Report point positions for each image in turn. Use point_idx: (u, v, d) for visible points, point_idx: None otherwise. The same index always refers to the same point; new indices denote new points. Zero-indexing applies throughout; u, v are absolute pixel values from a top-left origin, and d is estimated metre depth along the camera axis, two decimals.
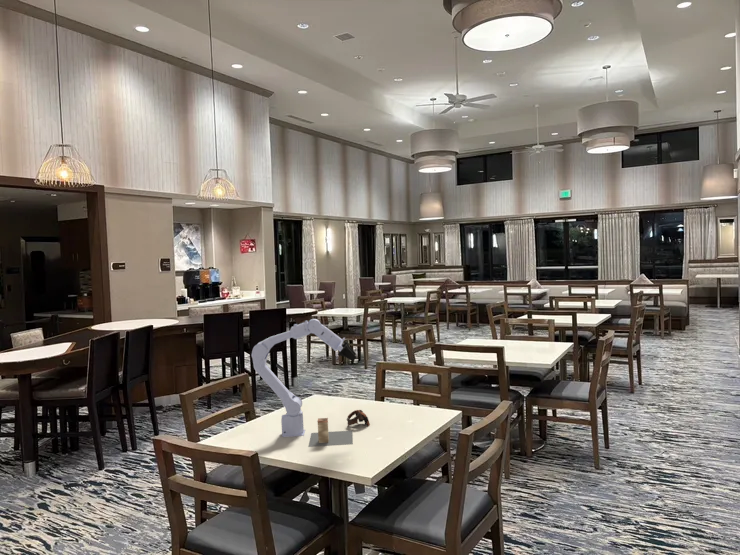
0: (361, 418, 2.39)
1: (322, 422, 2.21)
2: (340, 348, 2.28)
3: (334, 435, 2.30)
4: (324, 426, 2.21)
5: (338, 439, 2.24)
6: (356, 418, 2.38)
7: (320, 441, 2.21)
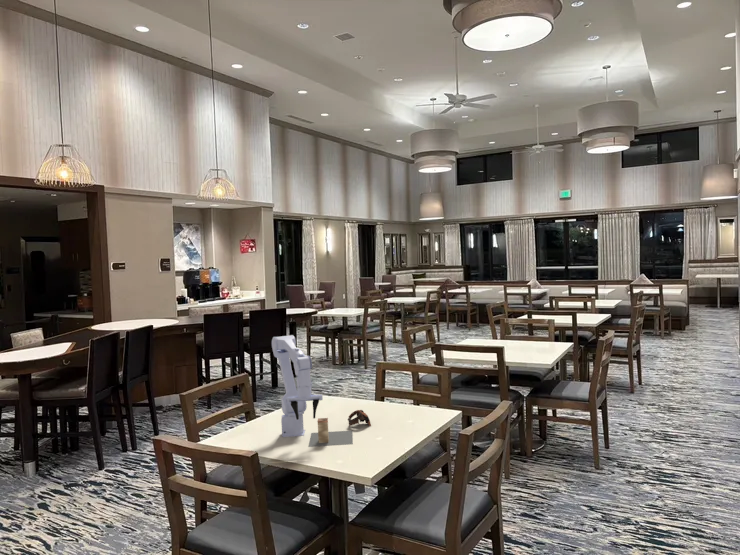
0: (362, 418, 2.38)
1: (322, 422, 2.21)
2: (287, 400, 2.21)
3: (334, 435, 2.30)
4: (324, 426, 2.21)
5: (338, 439, 2.24)
6: (357, 418, 2.38)
7: (320, 441, 2.21)
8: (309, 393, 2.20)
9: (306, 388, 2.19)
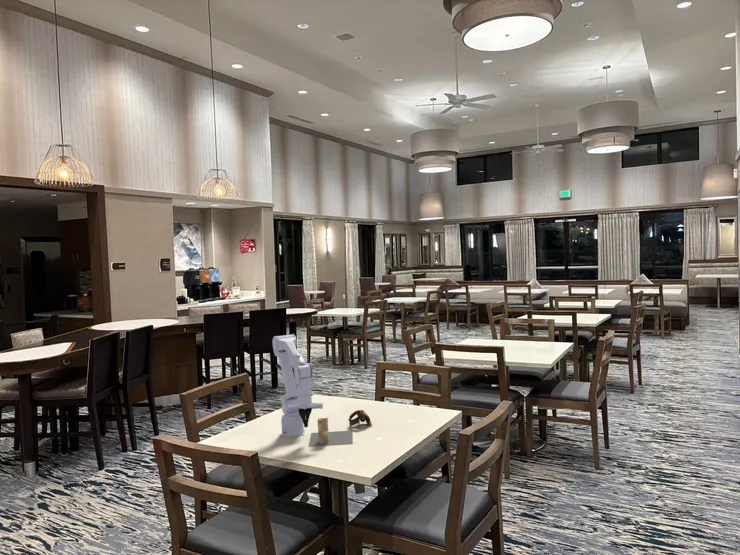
0: (363, 418, 2.38)
1: (322, 422, 2.21)
2: None
3: (334, 435, 2.30)
4: (324, 426, 2.21)
5: (338, 439, 2.24)
6: (358, 418, 2.38)
7: (320, 441, 2.21)
8: (309, 401, 2.21)
9: (306, 397, 2.20)
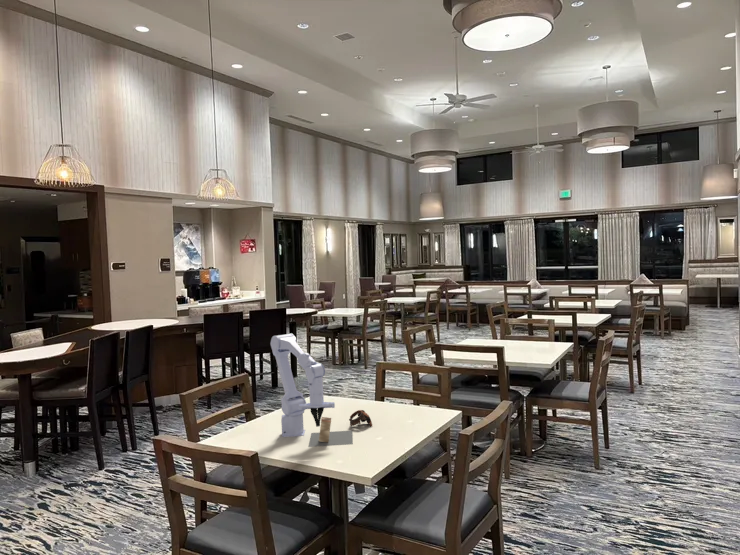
0: (364, 418, 2.38)
1: (326, 421, 2.21)
2: None
3: (334, 435, 2.30)
4: (326, 426, 2.21)
5: (338, 439, 2.24)
6: (359, 418, 2.37)
7: (320, 440, 2.21)
8: (321, 401, 2.21)
9: (318, 396, 2.20)
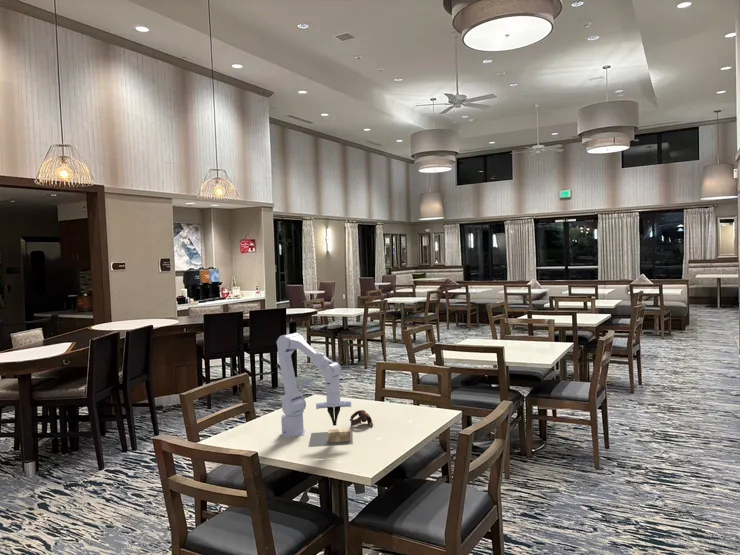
0: (364, 418, 2.38)
1: (348, 436, 2.21)
2: (316, 406, 2.22)
3: None
4: (344, 437, 2.21)
5: None
6: (359, 418, 2.37)
7: (329, 434, 2.21)
8: (338, 400, 2.21)
9: (335, 395, 2.20)
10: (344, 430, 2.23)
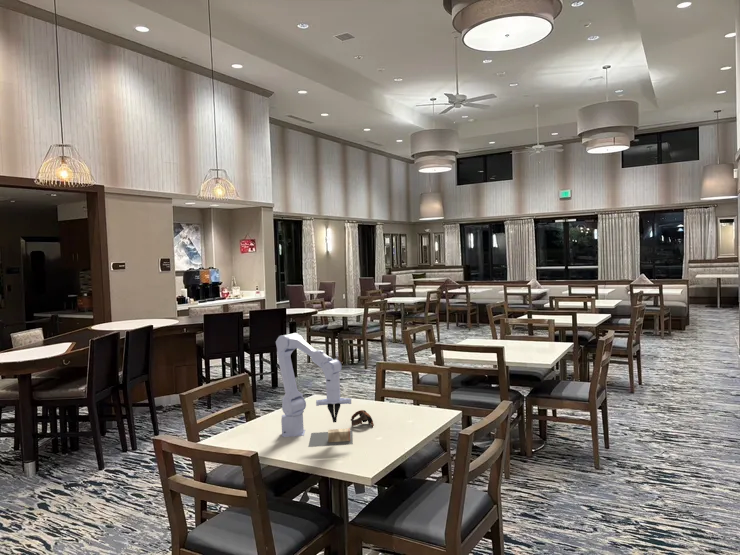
0: (365, 418, 2.38)
1: (348, 436, 2.21)
2: (316, 403, 2.22)
3: None
4: (344, 437, 2.21)
5: None
6: (360, 418, 2.37)
7: (329, 434, 2.21)
8: (338, 397, 2.21)
9: (335, 392, 2.20)
10: (344, 430, 2.23)
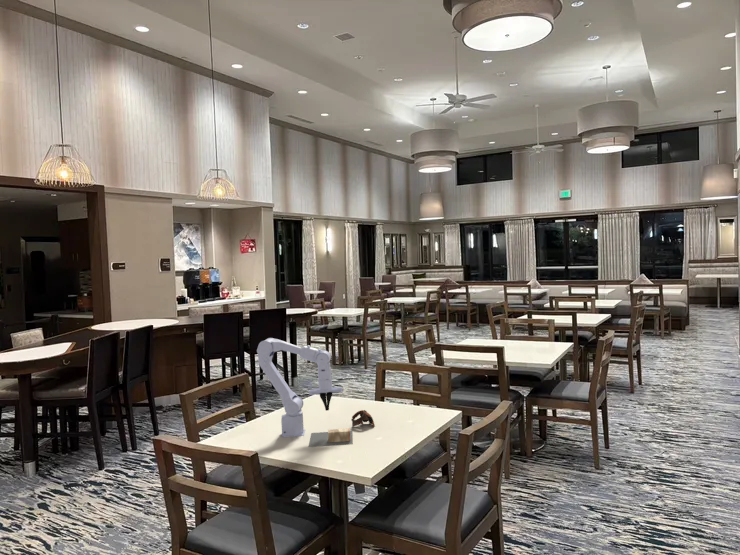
0: (366, 418, 2.38)
1: (348, 436, 2.21)
2: (309, 393, 2.33)
3: None
4: (344, 437, 2.21)
5: None
6: (361, 418, 2.37)
7: (329, 434, 2.21)
8: (330, 386, 2.32)
9: (327, 381, 2.31)
10: (344, 430, 2.23)
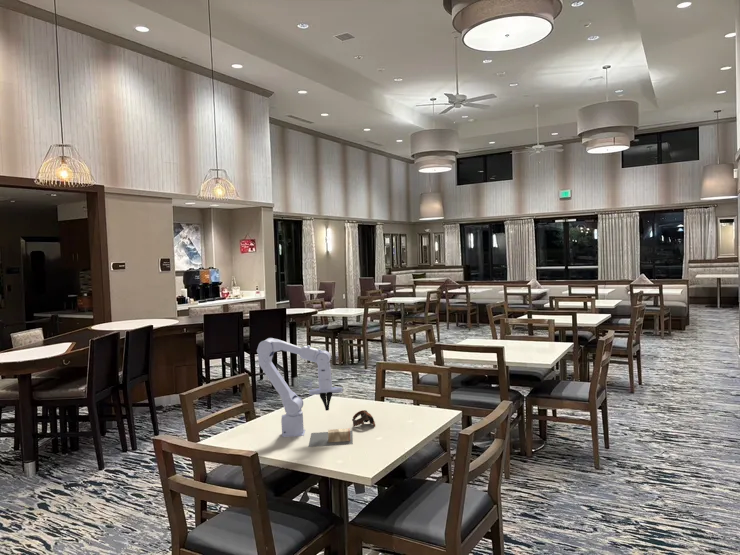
0: (367, 418, 2.37)
1: (348, 436, 2.21)
2: (309, 393, 2.33)
3: None
4: (344, 437, 2.21)
5: None
6: (362, 418, 2.37)
7: (329, 434, 2.21)
8: (330, 386, 2.32)
9: (327, 381, 2.31)
10: (344, 430, 2.23)
